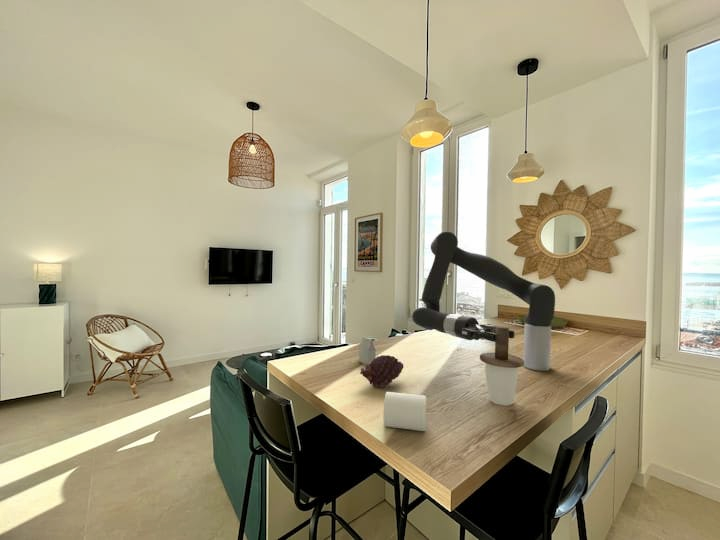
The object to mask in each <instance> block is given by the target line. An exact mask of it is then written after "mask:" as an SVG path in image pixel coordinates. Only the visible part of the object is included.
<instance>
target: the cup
mask: <svg viewBox="0 0 720 540" xmlns="http://www.w3.org/2000/svg"><path fill="white" fill-rule="evenodd" d="M484 371H485V373H484V374H485V379H486V388H487V397H488V398H487V399H488V400H489V401H490V402H491V403H493V404H495V405H498V406H503V407H504V406H506V407H507V406H511V405H513V403H514V400H515V393H516V389H517V382H518V378H519V367H518V368H506V367H498V366H494V365H490V364H487V363H485V367H484Z"/></svg>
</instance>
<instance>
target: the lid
mask: <svg viewBox="0 0 720 540" xmlns="http://www.w3.org/2000/svg"><path fill="white" fill-rule="evenodd" d="M496 326H497V327H496V334H497V336H498V338H497V341H496V342H494V343H495V345H494V352H483V353H481V354H479V360H480V361H481V362H483V363H485V364H486V363H487V364H490V365H494V366H498V367H506V368H518V369H519V368H522V367H525V366H524V360H523V359H524V358H521V357H518V356H516V355H513V354H509V343H510V338H509V330H510V328H509V327H507V326H501V325H496Z"/></svg>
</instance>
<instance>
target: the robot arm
mask: <svg viewBox="0 0 720 540" xmlns="http://www.w3.org/2000/svg"><path fill="white" fill-rule="evenodd" d="M458 244H459V241H458V238H457V236H456V233H455V234H454V233H453V232H452V231H449V230H445V231H444V230H443V231H442V232H440V233H438V234H437V235H436V236H435V238H434V239H433V241H431V243H430V250H431V253H432V254H433V255H434V258H433V263H432V265H431V268H430V271H429V273H428V275H427V278H426V281H425V283H424V287H423V292H422V295H421V301H422V302H423V304H424V305H425V307H418V308H416V309H415V310H413V312H412V315H411V316H412V317H411V318H412V319H411V320H412V321H413V323H414V324H415V325H417V326H418V327H421V328H424V329H426V330H428V331H432V330H435V331H437V332H440V333H443V334H447V335H450V336H452V337H456V338H459V339H464V340H466V341H473V340H475V341H479V340H480V341H483V340H484V341H490V342H493V343H495V342H496V341H497V338H498V336H497V334H496V327H497V326H498V325H494V324H490V323H487V324H485V323H479V321H478V320H477V319H476V318H475V317H472V316H466V315H461V314H456V313H455V314H453V313H447V312H441V303H440V301H441V298H442V294H443V290H444V286H445V281H446V277H447V273H448V271H449V267H450V264H454V265H455V266H457V267H460V268H461V269H463V270H465V271H467V272H468V273H471V274H472V275H474V276H476V277H478V278H479V279H481V280H483V281H485V282H487V283H489V284H490V285H493V286H495V287H498V288H500V289H502V290H505V291H508V292H509V293H511V294H512V295H514V296H515V297H517V298H519V299H520V300H521V301H523V302H525V303H526V304H527V305H529V307H528V314H527V315H525V317H524V330H523V331H524V334H523V339H524V340H523V358H522V359H523V360H524V366H523V367H524V368H526V369H530V370H534V371H539V372H546V371H550V370H551V369H550V368H551V353H552V351H551V349H552V348H551V347H552V345H551V344H552V343H551V342H552V341H551V340H552V322H553V319H554V317H555V308H556V295H555V291H554V290H553V288H552V287H551V286H548V285H546V284H539V283H535V282H532V281H530V280H528V279H525V278H524V277H520V276H519V275H518V274H516V273H515V272H513V270H511V269H510V268H509V267H507V266H506V265H505V264H504V263H502V262H500V261H498V260H496V259H494V258H492V257H491V256H488V255H484V254H479V253H473V252H470V251H467V250H464V249H462V248H461V247H458ZM515 333H516V332H515V331H514V330H511V329H509V339H515V335H516V334H515Z"/></svg>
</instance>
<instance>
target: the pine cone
mask: <svg viewBox="0 0 720 540" xmlns="http://www.w3.org/2000/svg"><path fill="white" fill-rule="evenodd" d="M403 369H404V363H402V362H401V361H399V359H398V358H396V357H395V356H394V355H393V356H392V355H389V354H388V355H383V354H382V355H380V356H379V355H378V356H376V357H375V358H374V359H373V361H372V362H371V364H366V365H365V367H362V368H360V372H359V374H360V375H362V377H364V378H365V379H367V381H368V382H369V384H370V385H373V386H374V387H377V388H383V387H384V386H388V385H389V384H391V383H392V382H393V380H395V379H396V378H399V376H400V374H401V373H403V372H402V371H403Z"/></svg>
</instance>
